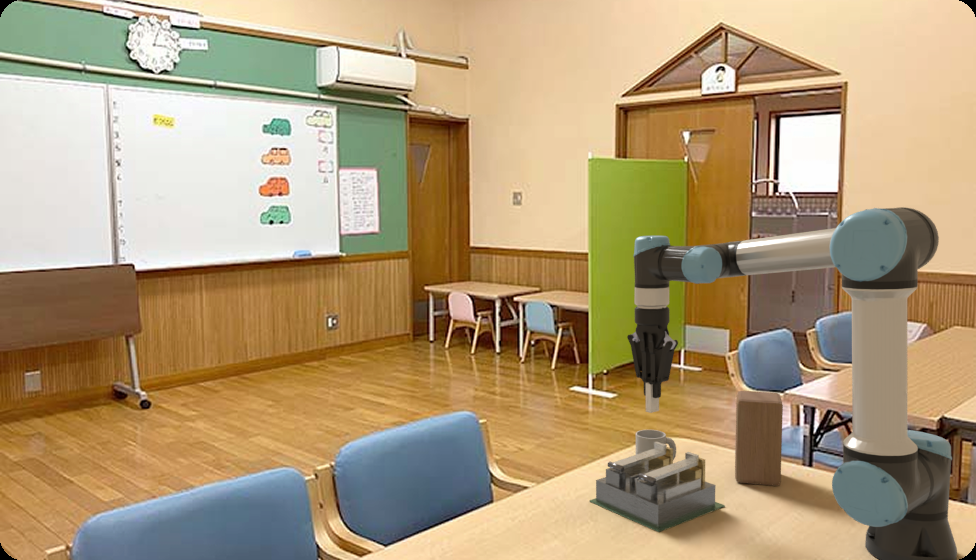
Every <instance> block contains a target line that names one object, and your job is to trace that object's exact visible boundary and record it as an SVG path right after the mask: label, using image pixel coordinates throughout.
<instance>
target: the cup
mask: <svg viewBox="0 0 976 560" xmlns="http://www.w3.org/2000/svg"><path fill="white" fill-rule="evenodd" d="M666 436H667V434H666V432H663V431H662V430H657V429H642V430H638V431H636V432H635V455H637V454H640V453H643V452H645V451H648V450H651V449H654V443H655V442H660V443H663V444H666V445H668V447H669V448H672V449H673V461H674V460H675V459H676V456H677V445H676V443H675V440H673V438H671V437H668V436H667V437H666ZM648 463H649V460H648V461H645V465H646V464H648Z"/></svg>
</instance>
